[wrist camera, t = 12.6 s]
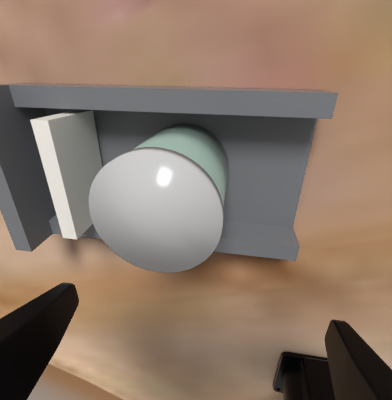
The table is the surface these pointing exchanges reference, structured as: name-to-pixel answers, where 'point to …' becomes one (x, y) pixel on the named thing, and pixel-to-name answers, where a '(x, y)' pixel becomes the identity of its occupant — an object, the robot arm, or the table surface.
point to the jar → (163, 199)
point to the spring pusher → (69, 165)
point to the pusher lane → (155, 122)
